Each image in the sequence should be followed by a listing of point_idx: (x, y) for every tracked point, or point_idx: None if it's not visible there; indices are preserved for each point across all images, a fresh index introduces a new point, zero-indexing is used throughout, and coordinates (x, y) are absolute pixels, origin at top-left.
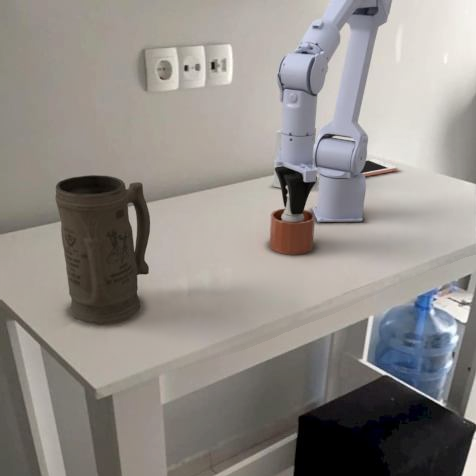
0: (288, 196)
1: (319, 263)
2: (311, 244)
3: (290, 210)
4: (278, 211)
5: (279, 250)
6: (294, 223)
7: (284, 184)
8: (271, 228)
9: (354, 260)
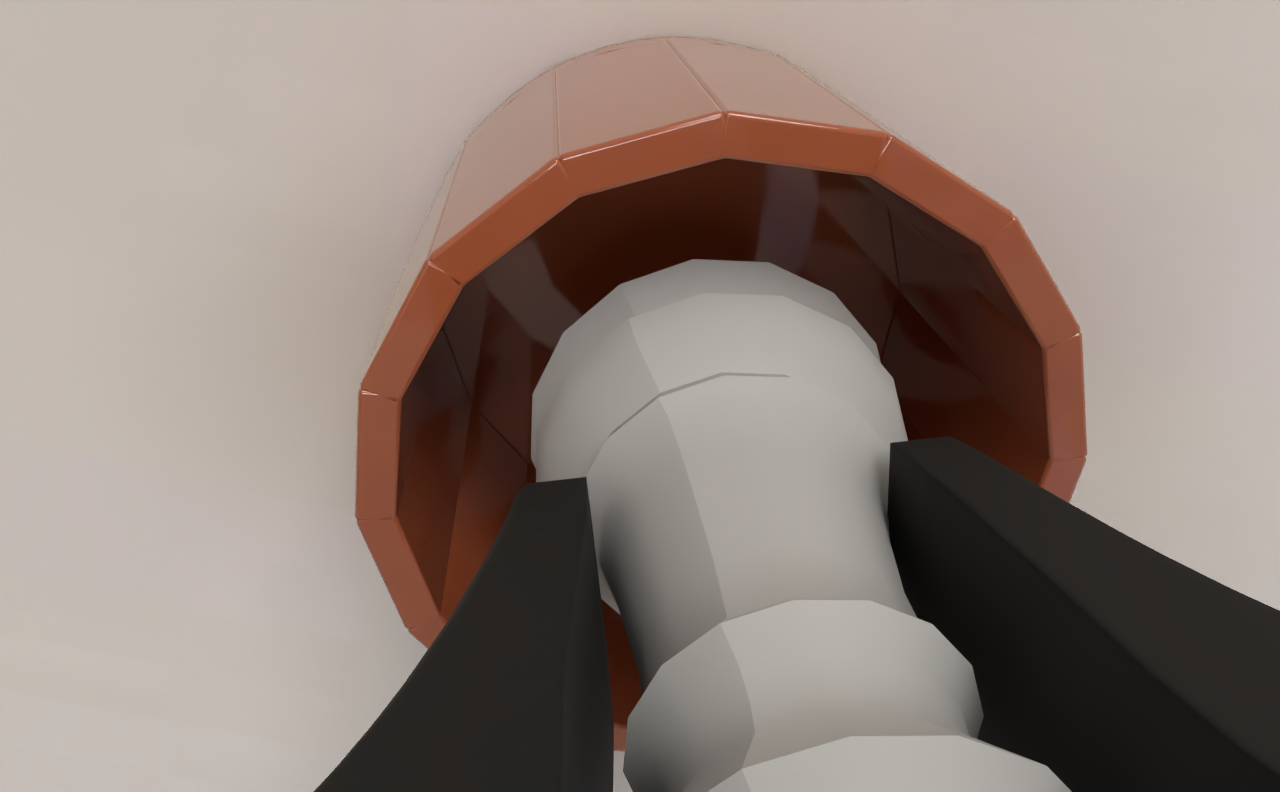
0: (744, 630)
1: (178, 471)
2: None
3: (574, 494)
4: (1013, 308)
5: (490, 117)
6: (364, 439)
7: (1150, 748)
8: (686, 76)
9: (253, 755)
